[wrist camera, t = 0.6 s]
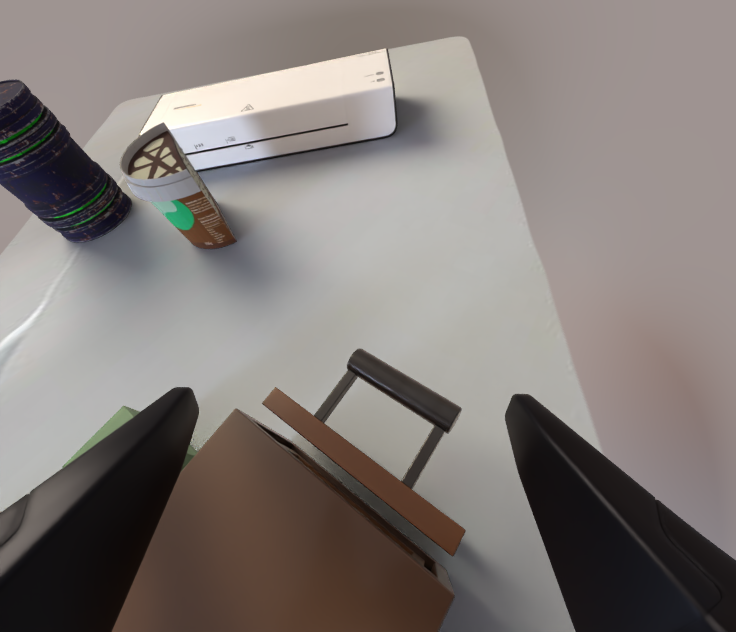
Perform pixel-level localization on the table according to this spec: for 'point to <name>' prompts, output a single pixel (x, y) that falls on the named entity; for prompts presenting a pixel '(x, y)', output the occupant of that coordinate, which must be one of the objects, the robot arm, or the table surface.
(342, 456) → the drawer
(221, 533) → the cabinet
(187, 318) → the table surface
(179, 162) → the food container
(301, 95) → the laminator
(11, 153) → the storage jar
